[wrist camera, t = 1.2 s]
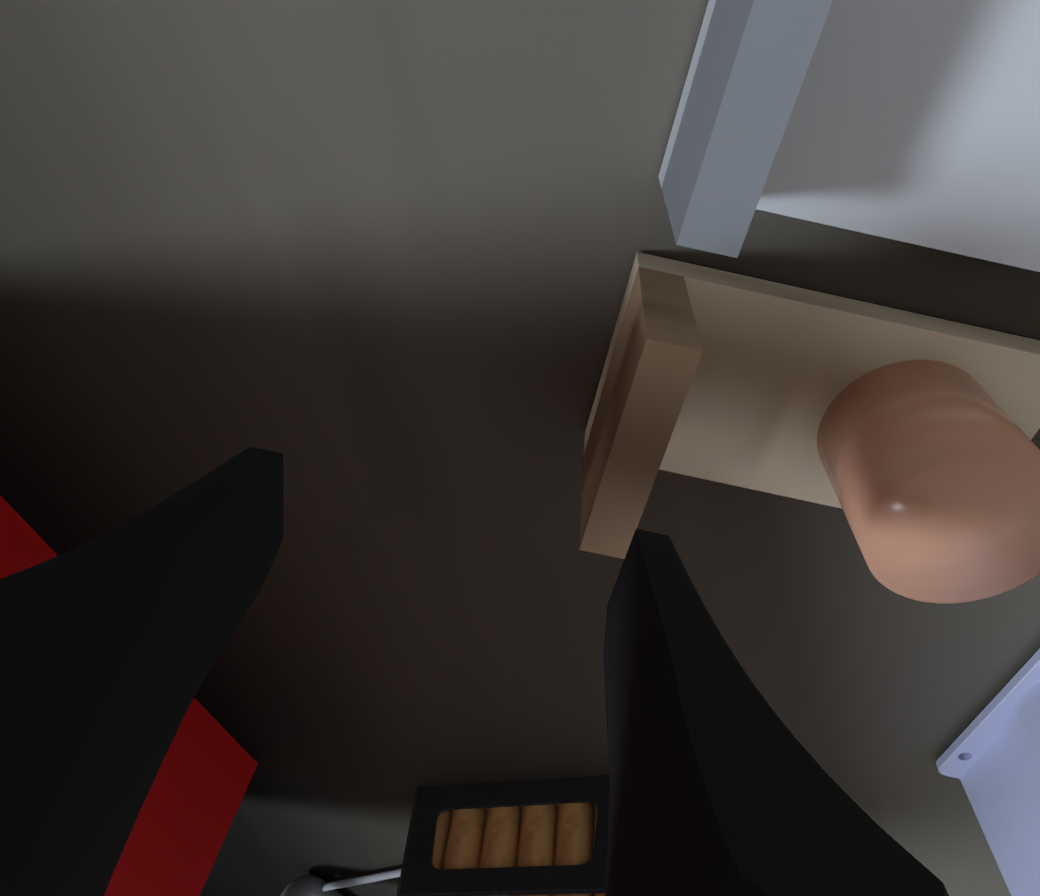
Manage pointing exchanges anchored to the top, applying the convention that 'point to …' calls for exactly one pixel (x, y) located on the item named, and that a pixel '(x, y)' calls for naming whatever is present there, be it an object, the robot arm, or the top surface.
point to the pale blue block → (863, 124)
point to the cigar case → (508, 839)
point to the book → (163, 776)
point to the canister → (934, 482)
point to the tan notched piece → (753, 385)
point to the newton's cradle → (332, 884)
